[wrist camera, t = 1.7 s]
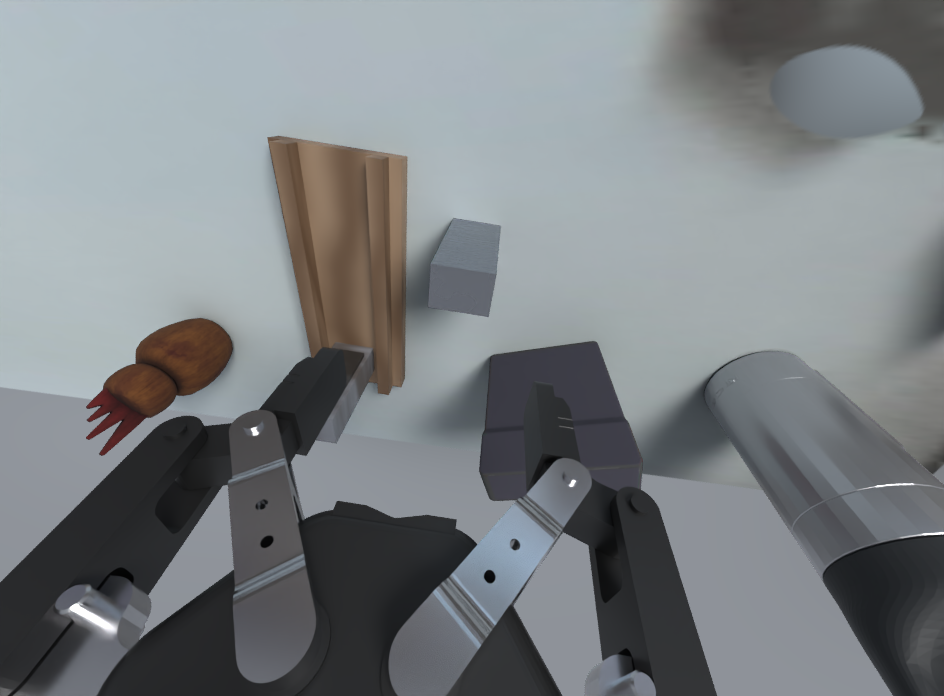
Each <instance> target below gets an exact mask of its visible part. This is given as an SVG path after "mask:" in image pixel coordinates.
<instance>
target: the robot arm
mask: <svg viewBox="0 0 944 696" xmlns="http://www.w3.org/2000/svg"><path fill="white" fill-rule="evenodd" d="M346 380H347V377H346V369H345V361H344V353H343V351H342V350H340V349H333V348H327V347H322V348H321V349H320V350H319V351H318V353H317V354H316V355H315V357H314V358H311V357H307V358H305V359H304V360H302V361H301V362H299V363H297V364H296V365H295V366H294V368H293V369H292V370H291V371H290V372H289V375H287V376H286V377H285V378H284V380H283V382H281V383H280V385H279V386H278V387H277V388H276V389H275V391H274V392H273V393H272V394H271V396H270V397H269V398H268V399H267V400H266V402H265V403H264V404H263V405H262V406H261V408H260V409H259V410H255V411H250V412H247V413H245V414H243V415H241V416H240V417H238V418H237V419H236V420H235V421H234V422H233V423H230V424H221V425H212V426H204V425H203V423H202V421H201V420H200V419H199V418H197V417H194V416H181V417H176V418H173V419H170V420H168V421H166V422H164V423H162V424H160V425H159V426H158V427H156V428H155V429H154V430H153V431H152V432H151V433H150V434H149V435H148V436H147V437H146V438H145V439H144V440H143V441H142V442H141V443H140V444H139V445H138V446H137V447H136V448H135V449H134V450H133V451H132V452H131V453H130V454H129V455H128V456H127V457H126V458H125V459H124V460H123V461H122V462H121V463H120V464H119V465H118V466H117V467H116V468H115V469H114V470H113V471H112V472H111V473H110V474H109V475H108V476H107V477H106V478H105V479H104V480H103V481H102V482H101V483H100V484H99V485H98V486H97V487H96V488H95V489H94V490H93V491H92V492H91V493H90V494H89V495H88V496H87V497H86V498H85V499H84V500H83V501H82V502H81V503H80V504H79V505H78V506H77V507H76V508H75V509H74V510H73V511H72V512H71V513H70V514H69V515H68V516H67V517H66V518H65V519H64V520H63V521H62V522H61V523H60V524H59V525H58V526H57V527H56V528H55V529H54V530H53V531H52V532H51V533H49V535H47V537H46V538H44V540H42V542H40V543H39V544H38V545H37V546H36V548H34V549H33V551H32V552H30V553H29V555H27V556H26V558H25V559H24V560H22V561H21V562H20V563H19V564H18V565H17V566H16V567H15V568H14V569H13V570H12V571H11V572H10V573H9V574H8V575H7V576H6V577H5V578H4V579H3V581H1V582H0V696H562V694H561V692H560V690H559V689H558V687H557V685H556V683H555V681H554V679H553V678H552V676H551V674H550V672H549V670H548V668H547V667H546V665H545V663H544V661H543V659H542V658H541V656H540V654H539V652H538V650H537V649H536V647H535V645H534V643H533V641H532V639H531V638H530V636H529V634H528V632H527V630H526V628H525V627H524V625H523V623H522V621H521V619H520V617H519V616H518V614H517V612H516V610H515V609H514V604H515V603H516V601H517V600H518V598H519V597H520V595H521V594H522V592H523V591H524V589H525V588H526V586H527V585H528V583H529V582H530V580H531V579H532V577H533V576H534V574H535V573H536V571H537V570H538V568H539V567H540V565H541V564H542V562H543V561H544V559H545V558H546V556H547V555H548V554H549V552H550V550H551V549H552V547H553V546H554V545H555V543H556V542H557V540H558V539H559V537H560V536H561V534H562V533H563V532H564V533H566V534H568V535H570V536H572V537H574V538H576V539H578V540H580V541H581V542H583V543H585V544H587V545H589V553H590V562H591V570H592V577H593V586H594V594H595V602H596V611H597V618H598V627H599V634H600V643H601V651H602V660H603V661H602V662H601V663H599V664H598V665H596V666H595V667H593V668H592V669H591V671H590V672H589V673H588V675H587V678H586V682H585V696H717V694H716V691H715V688H714V684H713V681H712V678H711V675H710V672H709V668H708V665H707V662H706V659H705V656H704V652H703V649H702V646H701V642H700V639H699V636H698V633H697V629H696V627H695V623H694V620H693V617H692V613H691V610H690V607H689V604H688V600H687V597H686V594H685V591H684V588H683V584H682V581H681V578H680V575H679V571H678V568H677V565H676V562H675V558H674V555H673V552H672V549H671V546H670V542H669V539H668V536H667V533H666V530H665V526H664V523H663V520H662V517H661V513H660V511H659V508H658V506H657V504H656V503H655V501H654V500H653V499H652V498H651V497H650V496H649V495H648V494H647V493H645V492H644V491H642V490H640V489H638V488H635V487H623V488H621V489H620V490H619V491H616V490H614V489H611V488H609V487H607V486H605V485H603V484H601V483H599V482H597V481H595V480H594V479H593V478H591V476H590V474H589V472H588V470H587V469H586V468H585V467H584V466H583V465H582V464H581V461H580V456H579V451H578V446H577V441H576V436H575V431H574V426H573V421H572V416H571V410H570V407H569V406H568V405H567V403H566V402H565V400H564V399H563V398H558V397H555V395H554V389H553V385H552V384H549V383H543V382H537V381H534V382H533V385H532V388H531V391H530V394H529V397H528V400H527V403H526V406H525V411H524V443H525V466H526V489H527V492H528V493H527V494H526V495H525V496H524V497H523V498H522V497H520V498H519V499H518V500H517V501H516V502H515V503H514V504H513V505H512V506H511V507H510V508H509V510H508V511H507V512H506V513H505V514H504V515H503V516H502V517H501V519H500V520H499V521H498V522H497V523H496V524H495V525H494V527H493V528H492V529H491V530H490V531H489V533H488V534H487V535H486V536H485V537H484V538H483V539H482V540H481V541H480V543H479V544H478V545H477V544H476V542H474V540H472V539H471V538H470V537H469V536H468V535H466V534H465V533H463V532H462V531H460V530H457V529H455V528H456V519H449V518H443V517H437V516H430V515H423V516H413V517H404V518H393V517H390V516H388V515H386V514H384V513H382V512H380V511H378V510H375V509H373V508H371V507H369V506H367V505H361V504H354V503H348V502H342V501H337V502H336V505H335V507H334V509H333V510H330V511H325V512H321V513H318V514H315V515H313V516H311V517H308V518H306V519H305V518H304V515H303V511H302V508H301V504H300V500H299V495H298V491H297V486H296V482H295V478H294V473H293V469H292V465H291V461H292V459H293V458H294V456H295V454H300V455H305V456H306V455H307V454H308V452H309V450H310V449H311V447H312V445H313V443H314V442H315V440H316V438H317V437H318V435H319V433H320V431H321V430H322V428H323V426H324V425H325V423H326V421H327V419H328V418H329V416H330V414H331V412H332V411H333V409H334V407H335V406H336V404H337V402H338V400H339V399H340V397H341V395H342V393H343V392H344V389H345V386H346ZM705 401H706V403H707V405H708V407H709V408H710V410H711V411H712V413H713V415H714V416H715V418H716V419H717V421H718V422H719V424H720V425H721V427H722V428H723V430H724V432H725V433H726V435H727V436H728V438H729V439H730V441H731V442H732V444H733V445H734V447H735V448H736V450H737V451H738V453H739V455H740V456H741V458H742V459H743V461H744V462H745V464H746V465H747V467H748V468H749V470H750V471H751V473H752V474H753V476H754V477H755V479H756V480H757V482H758V483H759V485H760V487H761V488H762V490H763V491H764V493H765V494H766V496H767V497H768V499H769V500H770V502H771V503H772V505H773V506H774V508H775V509H776V511H777V512H778V514H779V515H780V517H781V518H782V520H783V522H784V523H785V525H786V526H787V528H788V529H789V531H790V532H791V534H792V535H793V537H794V538H795V539H796V541H797V543H798V544H799V546H800V547H801V549H802V550H803V552H804V553H805V555H806V556H807V558H808V559H809V561H810V562H811V564H812V565H813V567H814V569H815V570H816V571H817V573H818V575H819V576H820V578H821V579H822V581H823V582H824V584H825V586H826V587H827V589H828V590H829V592H830V593H831V595H832V596H833V598H834V599H835V601H836V602H837V604H838V606H839V607H840V609H841V610H842V612H843V614H844V616H845V618H846V620H847V621H848V623H849V625H850V627H851V628H852V630H853V632H854V634H855V636H856V637H857V639H858V641H859V642H860V644H861V645H862V647H863V649H864V650H865V652H866V654H867V655H868V657H869V658H870V660H871V661H872V663H873V665H874V666H875V668H876V669H877V671H878V672H879V674H880V676H881V677H882V679H883V680H884V682H885V683H886V685H887V687H888V688H889V689H890V691H891V693H892V695H893V696H944V484H943V483H941V482H940V481H939V480H938V479H937V478H936V477H935V476H933V475H932V474H931V473H930V472H929V471H928V470H927V469H926V468H924V467H923V466H922V465H921V464H920V463H919V462H918V461H916V460H915V459H914V458H913V457H912V456H911V455H910V454H908V453H907V452H906V451H905V448H904V446H903V445H902V444H901V443H900V442H898V441H897V440H896V439H895V438H894V437H893V436H891V435H890V434H889V433H888V432H887V431H886V430H885V429H883V428H882V427H881V426H880V425H879V424H878V423H876V422H875V421H874V420H873V419H872V418H871V417H870V416H868V415H867V414H866V413H865V412H864V411H863V410H862V409H860V408H859V407H858V406H857V405H856V404H855V403H853V402H852V401H851V400H850V399H849V398H848V397H847V396H845V395H844V394H843V393H842V392H841V391H840V390H839V389H837V388H836V387H835V386H834V385H833V384H832V383H830V382H829V381H828V380H827V379H826V378H825V377H824V376H822V375H821V374H820V373H819V372H818V371H815V370H813V369H812V368H811V367H809V366H808V365H807V364H806V363H805V362H804V361H802V360H801V359H800V358H799V357H797V356H795V355H793V354H790V353H786V352H780V351H767V352H760V353H755V354H751V355H748V356H744V357H742V358H740V359H737V360H735V361H733V362H731V363H730V364H728V365H726V366H724V367H723V368H722V369H721V370H719V371H718V372H717V373H716V374H715V375H714V376H713V377H712V378H711V379H710V381H709V383H708V384H707V386H706V389H705ZM223 485H228V492H229V508H230V522H231V536H232V550H233V564H234V570H233V571H231V572H230V573H229V574H227V575H226V576H225V577H223V578H222V579H220V580H219V581H218V582H216V583H215V584H214V585H212V586H211V587H209V588H208V589H207V590H206V591H204V592H203V593H201V594H200V595H199V596H197V597H196V598H195V599H193V600H192V601H190V602H189V603H188V604H186V605H185V606H183V607H182V608H181V609H179V610H178V611H177V612H175V613H174V614H172V615H171V616H170V617H168V618H167V619H166V620H164V621H163V622H161V623H160V624H159V625H157V626H156V627H155V628H153V629H152V630H151V631H149V632H148V633H147V634H146V635H144V636H143V637H142V638H141V639H140V640H139V638H140V636H141V634H142V633H143V631H144V628H145V623H146V621H147V619H148V617H149V614H150V611H151V600H150V598H149V596H148V595H149V593H150V592H151V590H152V589H153V587H154V586H155V584H156V583H157V581H158V580H159V579H160V577H161V576H162V574H163V573H164V571H165V569H166V568H167V567H168V565H169V564H170V562H171V561H172V559H173V558H174V556H175V555H176V553H177V552H178V551H179V549H180V548H181V546H182V545H183V543H184V542H185V540H186V539H187V537H188V536H189V534H190V533H191V531H192V530H193V529H194V527H195V526H196V524H197V523H198V521H199V519H200V518H201V517H202V515H203V514H204V512H205V511H206V509H207V508H208V506H209V505H210V504H211V502H212V501H213V499H214V498H215V496H216V495H217V493H218V492H219V490H220V489H221V487H222V486H223Z"/></svg>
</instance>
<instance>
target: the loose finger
mask: <svg viewBox="0 0 944 696" xmlns="http://www.w3.org/2000/svg"><path fill="white" fill-rule="evenodd" d="M500 229H501V226H499V225H493V224H487V223H481V222H474V221H468V220H462V219H456V218H454V219H453V221H452V223H451V225H450V226H449V228H448V230H447V232H446V234H445V236H444V238H443V240H442V242H441V244H440V246H439V248H438V250H437V252H436V254H435V256H434V258H433V260H432V262H431V264H430V281H429V298H428V307H430V308H436V309H442V310H449V311H455V312H461V313H467V314H473V315H480V316H486V317H489V312H490V306H491V301H492V295H493V290H494V285H495V279H496V273H497V262H498V251H499V240H500Z"/></svg>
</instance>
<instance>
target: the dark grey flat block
mask: <svg viewBox="0 0 944 696" xmlns="http://www.w3.org/2000/svg"><path fill="white" fill-rule="evenodd" d="M534 381H537V382H543V383H549V384H552V385H553V389H554V395H555V397H558V398H563V399H564V400H565V402H566V403H567V405H568V406H569V407H570V410H571V416H572V421H573V426H574V431H575V436H576V441H577V446H578V451H579V456H580V461H581V464H582V465H583V466H584V467H585V468H586V469H587V470H588V472H589V474H590V476H591V478H593V479H594V480H595V481H597V482H599V483H601V484H603V485H605V486H607V487H609V488H611V489H614V490H616V491H619V490H620V489H621V488H623V487H635V488H638V489H640V490H641V478H642V465H643V461H642V457H641V455H640V452H639V449H638V447H637V444H636V441H635V438H634V436H633V433H632V430H631V428H630V425H629V423H628V421H627V420H626V419H625V417H624V415H623V412H622V409H621V406H620V404H619V401H618V398H617V395H616V393H615V390H614V387H613V384H612V381H611V379H610V376H609V373H608V370H607V368H606V365H605V362H604V359H603V357H602V354H601V351H600V348H599V346H598V343H597V342H594V341H592V342H584V343H577V344H569V345H562V346H555V347H547V348H540V349H533V350H525V351H518V352H511V353H503V354H496V355H493V356H491V359H490V371H489V383H488V396H487V408H486V420H485V431H484V432H483V434H482V444H481V456H480V467H479V472H480V475H481V477H482V480H483V483H484V486H485V488H486V491H487V493H488V496H489V498H490V499H491V500H493V501H504V500H518V499H519V498H520V497H522V498H523V497H524V496H525V495H526V494H527V493H528V492H527V489H526V466H525V443H524V411H525V406H526V403H527V400H528V397H529V394H530V391H531V388H532V385H533V382H534Z"/></svg>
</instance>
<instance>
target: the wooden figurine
mask: <svg viewBox="0 0 944 696" xmlns="http://www.w3.org/2000/svg"><path fill="white" fill-rule="evenodd" d="M232 350H233V347H232V342H231V339H230V337H229V335H228V334H227V333H226V331H225V330H224V329H223V328H221V327H220V326H219V325H218V324H216V323H214V322H213V321H210V320H207V319H203V318H197V319H188V320H184V321H181V322H177V323H174V324H171V325H168V326H166V327H163V328H161V329H159V330H157V331H155V332H154V333H152V334H150V335H149V336H148V337H146V338H145V339H144V340H143V341H141V343H140V344H139V346H138V347H137V349H136V364H132V365H129V366H126V367H124V368H122V369H120V370H118V371H117V372H115V373H114V374H113V375H111V376H110V377H109V378H108V379H107V380H106V382H105V383H104V386H103V390H102V391H101V392H100V393H99V394H98V395H97V396H96V397H95V398H94V399H93V400H92V401H91V402H90V403H89V404H88V405H87V406H86V408H87V409H90V408H94V407H97V406H101V407H100V408H99V409H98V410H97V411H96V412H95V413H94V414H93V415H91V416H90V418H89V419H87V421H88V422H91V421H93V420H95V419H97V418H99V417H101V416H103V415H105V414H107V413H109V412H110V414H109V415H108V416H107V417H106V418H105V419H104V420H103V421H102V422H101V423H100V424H99V425H98V426H97V427H96V428H95V429H94V430H93V431H92V432H91V433H90V434H89V435H88V436H87V437H86V439H88V440H89V439H91V438H93V437H95V436H96V435H98V434H100V433H101V432H103V431H105V430H106V429H108V428H109V427H111V426H113V425H114V424H116V423H118V422H119V421H121V420H122V422H121V423H120V425H119V426H118V427H117V429H116V430H115V432H114V433H113V435H112V436H111V437H110V439H109V440H108V442H107V443H106V444H105V446H104V447H103V449H102V450H101V452H100V453H99V454H100V455H101V456H102V455H105V454H106V453H107V452H108V451H109V450H111V449H112V448H113V447H114V446H115V445H116V444H117V443H119V442H120V441H121V440H122V439H123V438H124V437H125V436H126V435H128V434H129V433H130V432H131V431H132V430H133V429H134V428H135V427H137V426H138V425H139V424H140V423H141V422H142V421H143V420H144V419H145V418H151V417H153V416H155V415H157V414H159V413H160V412H162V411H163V410H165V409H166V408H167V407H168V406H170V404H171V403H172V402H173V401H174V399H175V397H176V395H178V396H185V395H190V394H193V393H195V392H197V391H199V390H201V389H203V388H205V387H206V386H208V385H209V384H210V383H211V382H213V381H214V380H215V379H216V378H217V377H218V376H219V375H220V373H221V372H222V371H223V369H224V368H225V367H226V365H227V363H228V361H229V359H230V356H231V354H232Z"/></svg>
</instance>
